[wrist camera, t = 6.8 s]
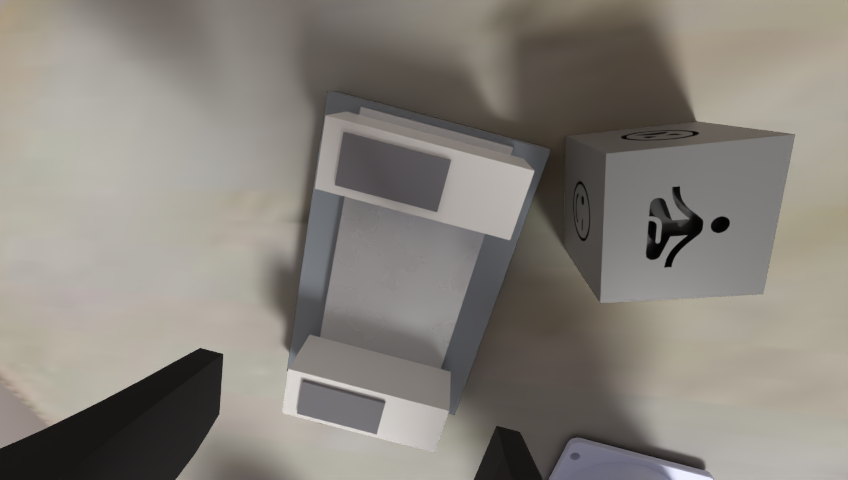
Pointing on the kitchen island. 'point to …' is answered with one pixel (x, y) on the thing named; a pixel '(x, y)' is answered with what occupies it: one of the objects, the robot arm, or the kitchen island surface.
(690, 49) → the kitchen island surface
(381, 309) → the board
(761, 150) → the dice cube
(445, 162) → the mounted modules
